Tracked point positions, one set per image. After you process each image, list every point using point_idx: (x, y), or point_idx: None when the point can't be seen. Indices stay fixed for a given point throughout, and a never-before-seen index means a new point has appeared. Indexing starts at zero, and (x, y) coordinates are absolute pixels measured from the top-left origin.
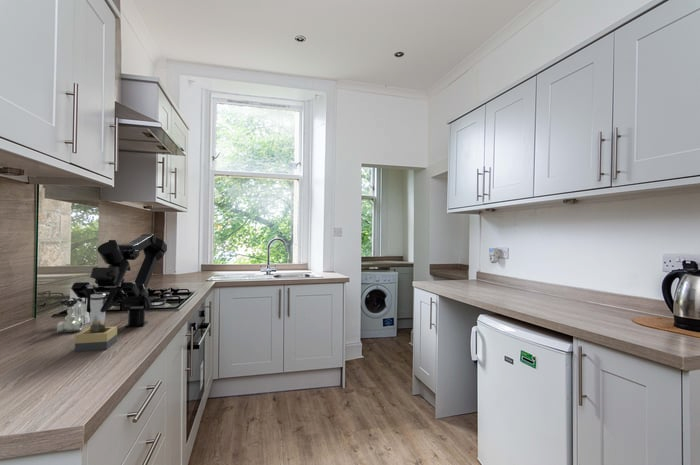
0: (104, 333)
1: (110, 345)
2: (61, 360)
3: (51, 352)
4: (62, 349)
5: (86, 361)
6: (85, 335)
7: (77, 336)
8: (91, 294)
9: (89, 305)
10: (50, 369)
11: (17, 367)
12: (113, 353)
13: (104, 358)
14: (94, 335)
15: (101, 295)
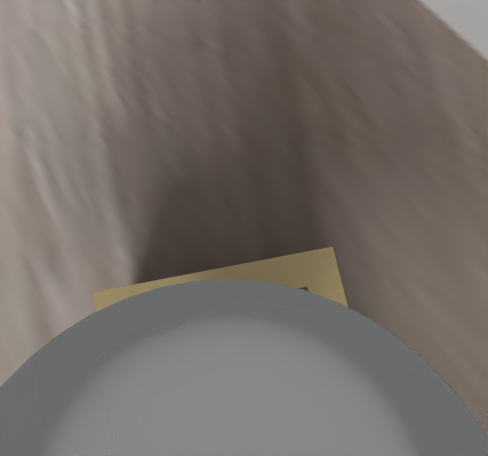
0: (118, 295)
1: None
2: (281, 130)
3: (450, 267)
4: (428, 324)
5: (136, 109)
6: (258, 261)
7: (314, 251)
8: (432, 426)
9: None
10: (244, 21)
11: (424, 52)
12: (49, 227)
13: (62, 147)
14: (192, 275)
15: (7, 404)
